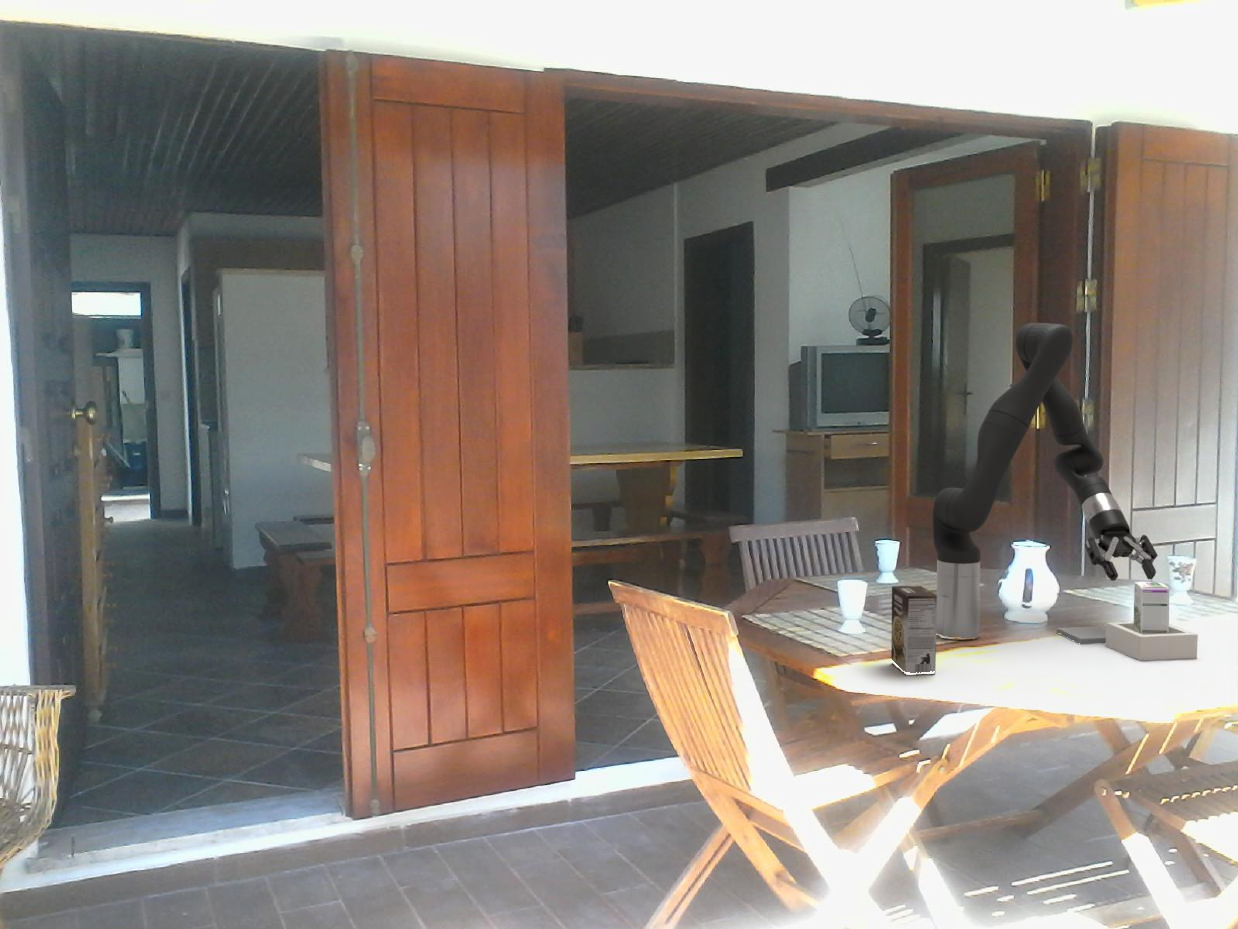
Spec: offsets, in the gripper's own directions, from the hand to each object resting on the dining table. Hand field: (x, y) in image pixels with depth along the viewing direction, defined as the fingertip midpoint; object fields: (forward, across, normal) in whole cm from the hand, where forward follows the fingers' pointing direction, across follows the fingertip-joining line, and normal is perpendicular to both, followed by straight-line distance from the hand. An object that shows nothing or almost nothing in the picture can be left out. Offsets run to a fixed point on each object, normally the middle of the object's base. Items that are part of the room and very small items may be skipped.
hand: (1133, 578), depth 234 cm
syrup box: (+15, 0, +6) cm, 16 cm away
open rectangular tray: (+15, 0, +5) cm, 16 cm away
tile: (+6, -6, +15) cm, 17 cm away
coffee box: (+18, -54, +2) cm, 57 cm away
